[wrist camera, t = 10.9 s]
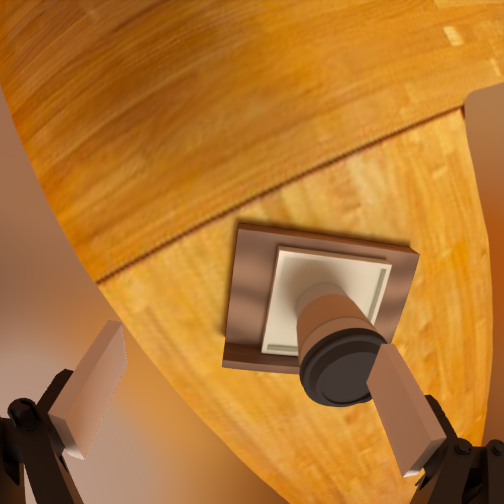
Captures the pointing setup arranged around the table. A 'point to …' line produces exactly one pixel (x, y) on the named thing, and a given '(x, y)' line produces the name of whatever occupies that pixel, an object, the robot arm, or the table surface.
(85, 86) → the table surface
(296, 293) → the tray
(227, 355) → the shelf
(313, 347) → the coffee cup
